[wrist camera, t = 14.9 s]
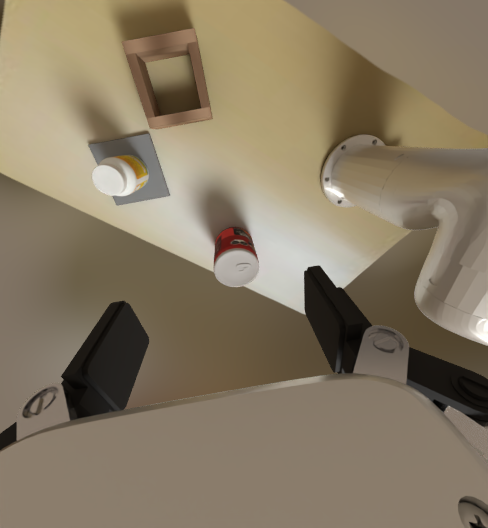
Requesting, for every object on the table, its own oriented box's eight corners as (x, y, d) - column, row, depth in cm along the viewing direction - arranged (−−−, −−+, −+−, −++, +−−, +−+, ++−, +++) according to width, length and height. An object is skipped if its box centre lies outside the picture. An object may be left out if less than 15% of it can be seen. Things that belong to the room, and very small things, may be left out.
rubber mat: (149, 133, 35) (148, 133, 34) (170, 195, 40) (169, 195, 40) (89, 144, 35) (88, 144, 34) (117, 204, 40) (116, 205, 40)
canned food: (258, 247, 47) (267, 274, 38) (227, 264, 49) (228, 294, 39) (241, 218, 44) (246, 241, 34) (208, 237, 45) (204, 264, 36)
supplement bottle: (148, 191, 39) (128, 205, 31) (116, 182, 38) (86, 195, 29) (151, 160, 36) (130, 166, 28) (117, 149, 35) (84, 153, 27)
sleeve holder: (197, 40, 30) (194, 28, 26) (212, 119, 35) (211, 116, 31) (133, 52, 30) (121, 41, 26) (157, 129, 35) (150, 128, 31)
